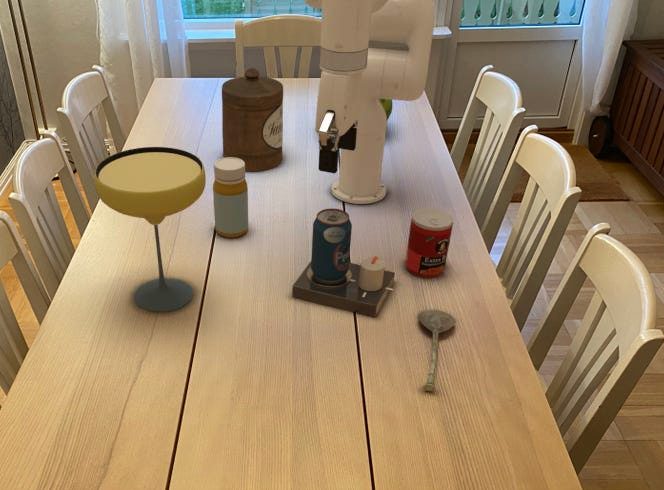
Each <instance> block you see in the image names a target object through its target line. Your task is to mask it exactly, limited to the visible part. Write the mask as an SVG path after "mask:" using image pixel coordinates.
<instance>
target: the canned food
mask: <svg viewBox="0 0 664 490" xmlns="http://www.w3.org/2000/svg"><path fill="white" fill-rule="evenodd" d="M409 225H410V226H409V233H408V241H407V249H406V255H405V267H406V269H407V270H408V271H409V272H410V273H411V274H412V275H414V276H418V277H421V278H435V277H438V276H440V275H441V274H442V273H443V272H444V271H445V268H446V265H447V259H448V253H449V247H450V242H451V238H452V237H451V236H452V231H453V225H454V217H453V215H451V213H450V212H448V211H446V210H444V209H441V208H436V207H420V208H418V209H416V210H414V211H413V212H412V215H411V219H410V224H409Z"/></svg>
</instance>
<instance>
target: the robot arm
mask: <svg viewBox="0 0 664 490" xmlns="http://www.w3.org/2000/svg"><path fill="white" fill-rule="evenodd" d="M304 2H305V4H307V5H308V6H309V7H311V8H314V9H319V10H321V19H320V21H321V24H320V46H319V69H320V70H321V75H320V78H319V79H320V80H319V85H318V92H317V102H316V113H315V128H314V129H315V132H316V133H317V134H318V138H319V139H318V171H320V172H323V173H329V174H336V173H338V179H337V180H335V181H333V182H332V184H331V188H330V191H331V194H332V196H334V198H336V199H337V200H340V201H342V202H345V203H348V204H353V205H354V204H355V205H368V204H373V203H377V202H379V201H382V200H383V199H384V198H385V197H386V195H387V186H386V185H385V184H384V183H383V182H381V179H382V171H383V161H384V151H385V143H386V142H385V141H386V133H387V124H388V121H387V117H386V113H385V110H384V108H383V106H382V105H381V103H380V101H379V100H378V99H390V100H392V101H402V102H403V101H405V102H413V101H417V100H419V99H420V98H421V97H422V95H423V94H424V91H425V88H426V84H427V78H428V71H429V66H430V65H429V64H430V57H431V51H432V43H433V36H434V31H435V30H434V29H435V20H436V6H435V5H436V4H435V1H434V0H304ZM370 41H372V42H382V43H393V44H404V45H406V46H407V48H408V50H400V49H399V50H398V49H389V48H377V47H376V48H375V47H369V44H370ZM331 128H332V129H337V131H332V130H330V129H331ZM330 137H333V140H332V138H330ZM339 149H340V150H339ZM339 152H340V154H339ZM339 155H340V156H339ZM338 166H339V167H338ZM338 168H339V171H338Z"/></svg>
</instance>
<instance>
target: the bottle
mask: <svg viewBox="0 0 664 490" xmlns="http://www.w3.org/2000/svg"><path fill="white" fill-rule="evenodd" d="M213 172H214V180H213V184H212V193H213V194H212V195H213V213H214V228H215V229H214V230H215V232H216V233H217V234H218V235H219V236H221V237H224V238H229V239H234V238H235V239H237V238H240V237H242V236H244V235H245V234H246V233H247V232H248V230H249V188H248V182H247V180H246V171H245V163H244V161H243V160H241V159H239V158H233V157H227V158H223V157H221V158H219V159H216V161H215V162H214V163H213Z"/></svg>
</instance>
